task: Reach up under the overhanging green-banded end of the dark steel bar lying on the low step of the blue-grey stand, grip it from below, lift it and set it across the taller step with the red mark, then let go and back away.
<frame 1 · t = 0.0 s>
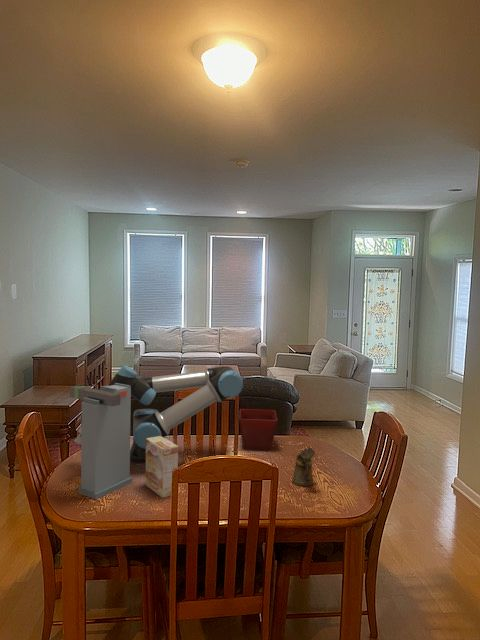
hand: (78, 437, 200), 15 cm above the table, tool tilted 35°, fingers open, 13 cm apart
dark olive lumpy piece: (303, 484, 195), on the table
coffeecake box: (160, 489, 187), on the table
stand: (106, 487, 187), on the table
plant pot: (256, 446, 241), on the table
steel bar: (94, 400, 181), point 36 cm above the table, touching stand
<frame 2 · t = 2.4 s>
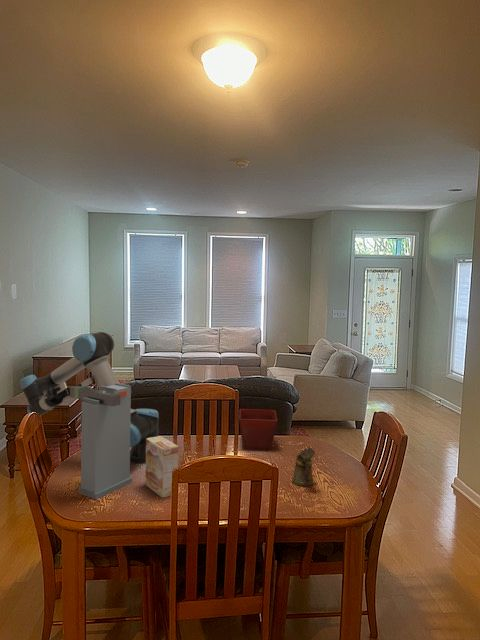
hand: (78, 382, 205), 38 cm above the table, tool pointing upward, fingers open, 13 cm apart
nothing on the table moved.
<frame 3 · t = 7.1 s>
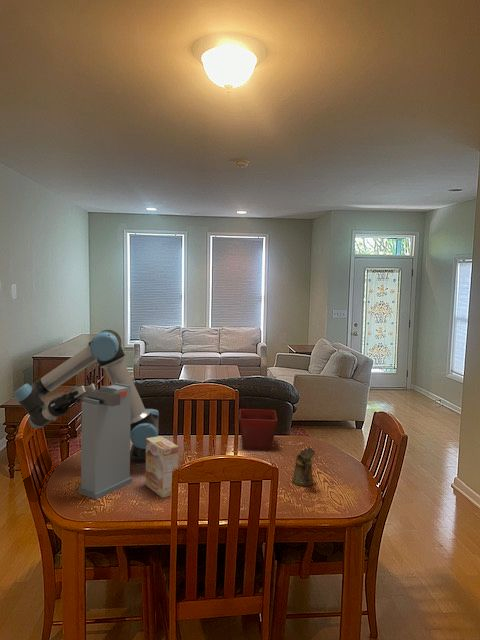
hand: (88, 387, 183), 41 cm above the table, tool pointing upward, fingers closed on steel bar, 4 cm apart
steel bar: (94, 400, 181), point 36 cm above the table, touching gripper, stand
everything else where it was.
when the fingers open (46 cm above the table, at t = 10.0 s): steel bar stays where it is, resting on stand.
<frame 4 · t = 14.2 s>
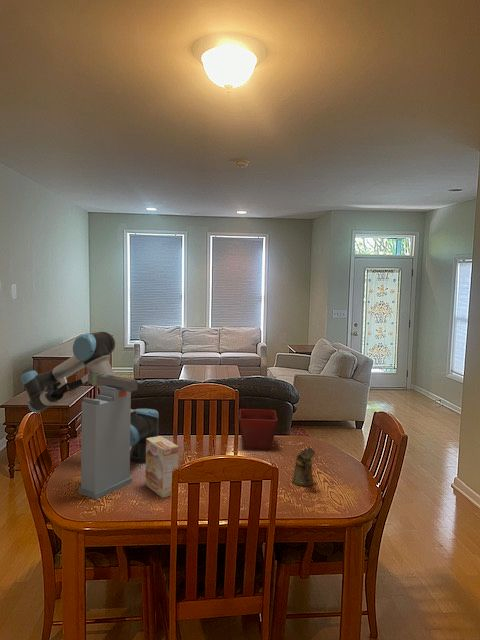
hand: (78, 377, 207), 40 cm above the table, tool pointing upward, fingers open, 13 cm apart
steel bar: (112, 386, 189), point 40 cm above the table, touching stand
everything else where it was.
at the end: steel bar inside the target area (0.1 cm from its centre), point 40.0 cm above the table; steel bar touching stand; the gripper is holding nothing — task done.
